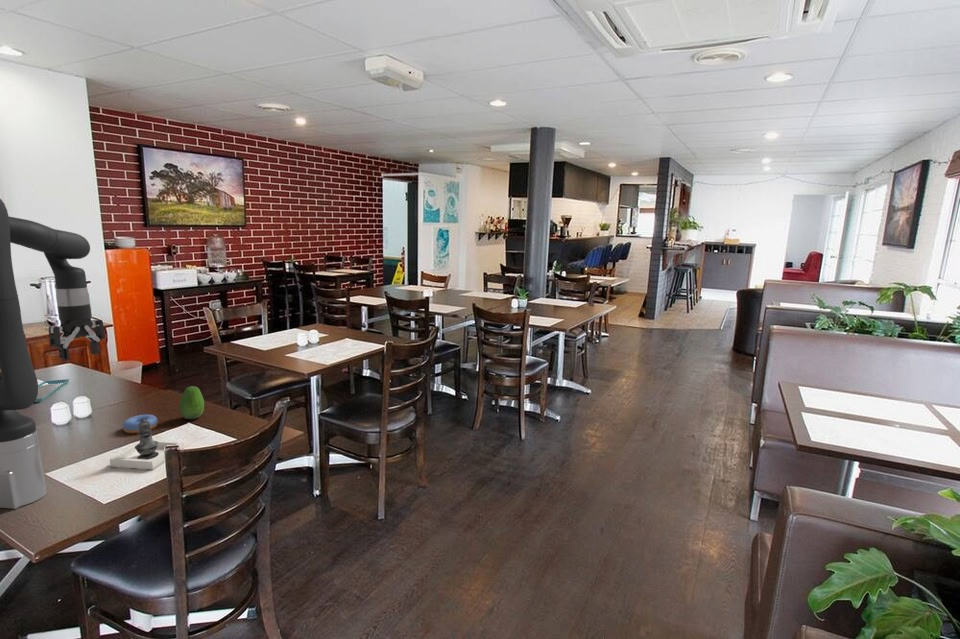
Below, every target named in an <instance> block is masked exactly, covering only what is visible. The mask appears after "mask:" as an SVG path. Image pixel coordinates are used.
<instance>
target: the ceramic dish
mask: <svg viewBox="0 0 960 639" xmlns="http://www.w3.org/2000/svg"><path fill="white" fill-rule="evenodd" d="M153 441H157V442H158V446H157V449H156V450H155V452H158V453H159V454H158V456H156V457H155V458H152V459H149V460H144V459H137V457H138V456H139V455H141V454H139V453H138V452H137V450H136V449H135V446H136V445H137V444H139V443H140V441H139V442H138V443H136V444H133V446H131V447H129V448H127V449H125V450H123V451H122V452H119V453H118V454H116V455H114V456H113V457H110V458H109V465H110V468H114V467H117V468H118V469H130V468H137V469H136V470H146V469H151V470H150V471H154V470H155V469H157V468H158V467H160V466H161V465H163V464H164V447H165V446H167V445H179V446H180V448H181V449H184V450H185V445H184V444H185V443H184V441H172V440H170V441H169V440H157V439H156V440H154V439H153ZM117 468H116V469H117Z"/></svg>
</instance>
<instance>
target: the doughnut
mask: <svg viewBox="0 0 960 639" xmlns="http://www.w3.org/2000/svg"><path fill="white" fill-rule="evenodd" d="M143 418H144V419H145V420H146V421H149V422H150V428H151V431H153V429H155V428H156V427H157V426H158V418H157V417H156V416H155V415H153V414H139V415H134V416H131V417H128V418H127V419H126V420H124V421H123V423H122V430H123V432H125V433H126V434H130V433H131V434H130V435H132V434H133V435H136V434H138V433H139V426H138V424H139V423H140V422H141V421H143V420H142V419H143ZM135 433H136V434H135Z"/></svg>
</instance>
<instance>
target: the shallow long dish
mask: <svg viewBox="0 0 960 639" xmlns="http://www.w3.org/2000/svg"><path fill="white" fill-rule="evenodd" d="M69 382H70V379H69V378H67V379H56V380H55V379H53V380H45V381H44V380H43V381H42V382H40V383H38V388H39V387H40V386H42V385H43V384H45V383H48V384H58V383H59V384H60V383H63V384H61V385H60V386H58V387H57V388H55V389H54V390H52V391H51V392H50V393H48V394H47V395H45V396H44V397H42V398H37V399H36V401H35V402H41V401H42V402H44V401H45V400H47V399H48V398H50V397H51V396H52V395H54V394H55V393H57V392H58V391H59V390H60V388H61V387H62V388H63V386H64V385H65V386H67V385H68V384H69ZM67 383H68V384H67ZM65 386H64V387H65ZM62 388H61V389H62ZM58 389H59V390H58ZM57 390H58V391H57ZM56 391H57V392H56ZM54 392H55V393H54ZM53 393H54V394H53ZM51 394H52V395H51ZM50 395H51V396H50ZM49 396H50V397H49ZM47 397H48V398H47ZM46 398H47V399H46ZM44 399H45V400H44ZM43 400H44V401H43ZM42 402H41V403H42Z"/></svg>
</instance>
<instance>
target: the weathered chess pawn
mask: <svg viewBox="0 0 960 639" xmlns="http://www.w3.org/2000/svg"><path fill="white" fill-rule="evenodd" d="M142 420H143V421H141V422H140V423H139V424H138V426H139V433H137V435H138V436H139V442H140V443H139V442H138V443H139V444H137V443H136V444H137V445H136V444H135V445H136V446H135V449H136V450H137V452H138V453H139V454H141V455H139V456H138V457H137V459H144V460H149V459H152V458H155V457H156V456H158V454H159V453H158V452H155V450H156V449H157V446H158V442H157V441H158V440H157V441H153V440H154V439H153V430H151V428H150V422H149V421H146V420H145V419H144V418H143V419H142Z"/></svg>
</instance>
